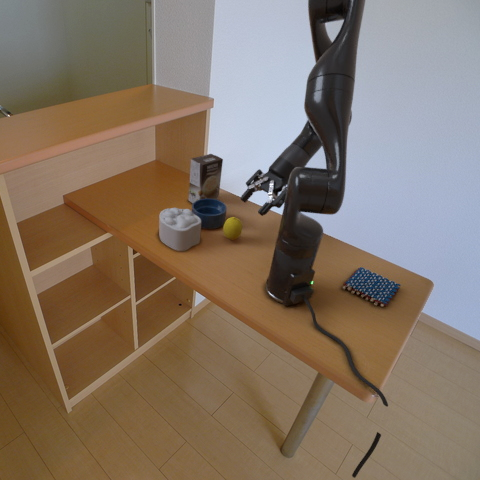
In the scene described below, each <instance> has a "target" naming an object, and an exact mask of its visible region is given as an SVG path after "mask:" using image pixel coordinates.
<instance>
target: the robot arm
mask: <svg viewBox="0 0 480 480" xmlns="http://www.w3.org/2000/svg"><path fill="white" fill-rule="evenodd" d="M365 6H366V0H307V11H308V12H307V13H308V22H309V28H310V29H309V30H310V36H311V43H312V50H313V55H314V62H315V64H314V65H313V67H312V69H310V72H309V74H308V76H307V80H306V86H305V95H304V101H303V102H304V103H303V109H304V113H305V116H306V119H307V121H306V122H305V124H304V126H303V128H302V130H301V132H300V133H299V134H298V136H297V137H296V138H295V139H294V140H293V141H292V142H291V143H290V145H288V146H287V147H285V149H284V150H283V151H282V152H281V153H280V155H278V157H277V158H276V159H275V160H274V161H273V162H272V164H271V165H270V166H269V167H268V170H267V171H266V172H265V173H264V172H263V170H261V169H257V170H256V171H255V172H254V173H253V174H252V175H251V177H250V178H249V179H248V180H247V181H246V182H245V185H246V187H247V189H246V190H245V191H244V192H243V193H242V194H241V196H240V201H242V202H243V203H246V202H247V201H248V200H249V199H250V198H251V197H252V196H253V195H254V193H256V192H261V191H263V192H264V193H266V194H267V195H268V198H267V201H265V203H263V205H261V207H260V208H259V209H258V210H257V214H259V215H260V216H261V217H263V216H265V215H267V214H268V213H269V211H270V210H271V209H272V208H274V207H275V208H277V209H281V208H282V206H283V209H282V213H281V219H280V223H279V227H278V232H277V237H276V242H275V246H274V249H273V255H272V259H271V264H270V268H269V272H268V277H267V279H266V284H265V292H266V294H267V296H269V298H270V299H272V300H273V301H275V302H277V303H280V304H282V306H284V307H289V306H294V305H297V304H300V303H303V302H304V303H305V304H306V306H307V308H308V310H309V312H310V314H311V320H312V323H313V325H314V327H316V329H317V330H318V331H320V333H322V334H323V335H325V336H326V337H329V338H330V339H332V340H334V341H335V342H337V343H338V344H339V345H340V346H341V347H342V348H343V350H344V352H345V354H346V357H347V361H348V364H349V367H350V370H352V372H353V374H354V375H355V376H356V377H357V378H358V380H359V381H361V382H363V384H365V385H366V386H368V387H369V388H371V390H373V391H374V392H375V393H376V394H377V395H378V397H379V398H380V400H381V401H382V404H383V406H384V407H386V408H387V407H389V404H388V401H387V398H386V396H385V395H384V394H383V392H382V391H381V390H380V389H379V388H378V387H377V386H376V385H374V384H373V383H371V382H370V381H369V380H368V379H366V378H365V377H364V376H362V375H361V373H360V372H359V371H358V370H357V368H356V366H355V363H354V361H353V357H352V354H351V352H350V349H349V348H348V346H347V345H346V344H345V343H344V342H343V340H341V339H340V338H338V336H335V335H334V334H331V333H330V332H328V331H326V330H325V329H323V328H322V327H321V326H320V325H319V323H318V321H317V317H316V313H315V310H314V308H313V306H312V305H311V303H310V301H309V299H312V297H313V295H314V293H315V292H314V291H315V289H314V288H312V285H313V283H314V281H313V280H314V277H315V274H316V270H315V269H314V266H315V262H316V258H317V255H318V252H319V248H320V246H321V243H322V241H323V240H322V239H323V237H324V228H323V226H322V224H321V223H320V222H319V221H317V220H316V219H315V218H312V217H311V216H308V215H306V214H304V213H308V214H309V213H310V214H319V215H328V216H329V215H336V214H338V212H339V211H340V210H341V208H342V205H343V202H344V199H345V192H346V180H347V155H348V154H347V153H348V137H349V128H350V125H351V124H352V123H351V122H352V119H353V111H352V107H353V100H354V92H355V84H356V70H357V59H358V58H357V57H358V48H359V47H358V46H359V40H360V35H361V28H362V22H363V17H364V10H365ZM340 21H343V22H342V24H341V27H340V29H339V31H338V33H337V34H336V36H335V38H334V39H333V40H331V38H330V35H329V33H328V31H327V26H326V24H327V23H333V22H340ZM321 148H322V149H323V153H324V159H325V168H321V167H311V166H310V167H309V166H307V165H308V163H309V162H310V161H311V160H312V158H313V157H314V156H315V155H316V154H317V153H318V152H319V151H320V149H321ZM381 437H382V434H381V433H380V432H378V431H377V432H376V434H375V437H374V439H373V441H372V443H371V445H370V447H369V448H368V450H367V451H366V453H365V454H364V456H363V457H362V459H361V460H360V461H359V463H357V466H356V467H355V469H354V470H353V472H352V474H351V476H352V478H353V479H354V478H356V477H357V476H358V474H359V473H360V472H361V470H362V468H363V466H364V465H365V463H367V461H368V460H369V458H370V457H371V456H372V454H373V453H374V451H375V449H376V447H377V445H378V444H379V442H380V439H381Z"/></svg>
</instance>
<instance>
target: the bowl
mask: <svg viewBox="0 0 480 480" xmlns="http://www.w3.org/2000/svg"><path fill="white" fill-rule="evenodd" d="M227 209H228V207H227V205H226V203H224V202H223V201H221V200H219V199H218V200H216V199H210V198H206V199H199V200H197V201H195V202H194V203H192V205H191V211H192V213H193V214H195V215H196V216H198V217H199V218H200V219H201V229H207V230H210V229H211V230H213V229H219V228H221V227H222V226H224V224H225V222H226V220H227V219H226V218H227Z"/></svg>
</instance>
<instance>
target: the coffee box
mask: <svg viewBox="0 0 480 480" xmlns="http://www.w3.org/2000/svg"><path fill="white" fill-rule="evenodd" d="M223 163H224V159H223V158H222V157H220V156H218V155H216V154H214V153H213V154H212V153H208V154H204V155H199V156H196V157H192V158H190V169H189V186H188V187H189V188H188V201H189V202H190V203H191V204H193V203H194V202H195V201H197V200H199V199H206V198H210V199H216V200H219V198H220V190H221V189H220V188H221V181H222V180H221V179H222V170H223Z"/></svg>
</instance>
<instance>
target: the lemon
mask: <svg viewBox="0 0 480 480" xmlns="http://www.w3.org/2000/svg"><path fill="white" fill-rule="evenodd" d="M222 232H223V235H224V236H225V238H227V239H228V240H230V241H233V240H236V239H238V238H239V237H241V235H242V232H243V223H242V221H241V220H240V219H239V218H238V217H236V216H232V217H229V218H227V219H225V223H224V224H223V228H222Z"/></svg>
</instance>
